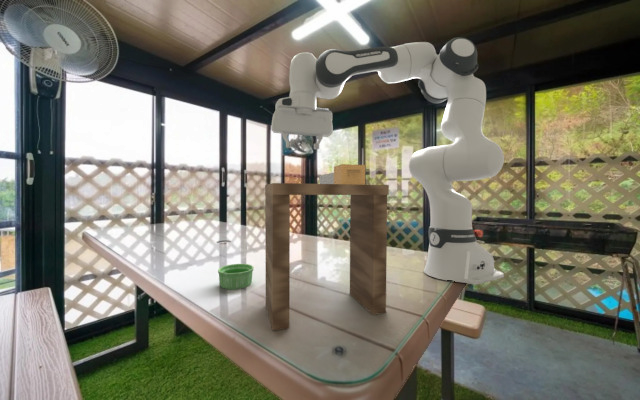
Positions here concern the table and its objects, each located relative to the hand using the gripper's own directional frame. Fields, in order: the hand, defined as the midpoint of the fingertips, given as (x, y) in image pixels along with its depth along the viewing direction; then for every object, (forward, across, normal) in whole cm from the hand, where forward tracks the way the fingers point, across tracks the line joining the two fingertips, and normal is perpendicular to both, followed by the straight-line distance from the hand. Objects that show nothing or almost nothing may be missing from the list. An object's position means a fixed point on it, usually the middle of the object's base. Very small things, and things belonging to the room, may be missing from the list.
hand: (302, 148), depth 85 cm
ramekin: (+40, +21, +11) cm, 46 cm away
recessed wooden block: (+13, -2, +26) cm, 29 cm away
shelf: (+39, +4, +32) cm, 51 cm away
